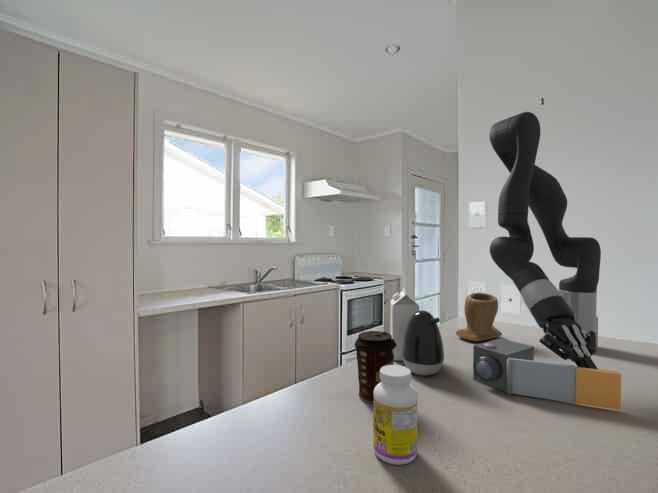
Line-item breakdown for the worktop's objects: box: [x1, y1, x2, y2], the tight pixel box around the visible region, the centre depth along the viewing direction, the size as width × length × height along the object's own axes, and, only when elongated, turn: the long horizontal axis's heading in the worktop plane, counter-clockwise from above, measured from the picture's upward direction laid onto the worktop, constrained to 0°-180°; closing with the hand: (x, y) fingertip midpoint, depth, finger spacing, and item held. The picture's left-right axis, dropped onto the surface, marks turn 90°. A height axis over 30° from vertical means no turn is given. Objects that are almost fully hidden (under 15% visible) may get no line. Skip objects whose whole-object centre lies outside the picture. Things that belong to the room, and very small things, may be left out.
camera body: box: [472, 337, 535, 393], centre depth 79 cm, size 14×8×8 cm, turn 122°
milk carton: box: [389, 286, 420, 362], centre depth 96 cm, size 7×7×19 cm
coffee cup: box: [354, 330, 397, 404], centre depth 72 cm, size 9×8×13 cm
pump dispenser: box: [402, 310, 445, 377], centre depth 85 cm, size 10×10×15 cm
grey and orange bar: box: [506, 358, 622, 411], centre depth 69 cm, size 19×2×7 cm, turn 67°
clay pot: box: [455, 292, 503, 342], centre depth 113 cm, size 15×12×15 cm
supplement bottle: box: [372, 364, 419, 466], centre depth 53 cm, size 7×7×13 cm
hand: (593, 377), depth 68 cm, fingers closed
